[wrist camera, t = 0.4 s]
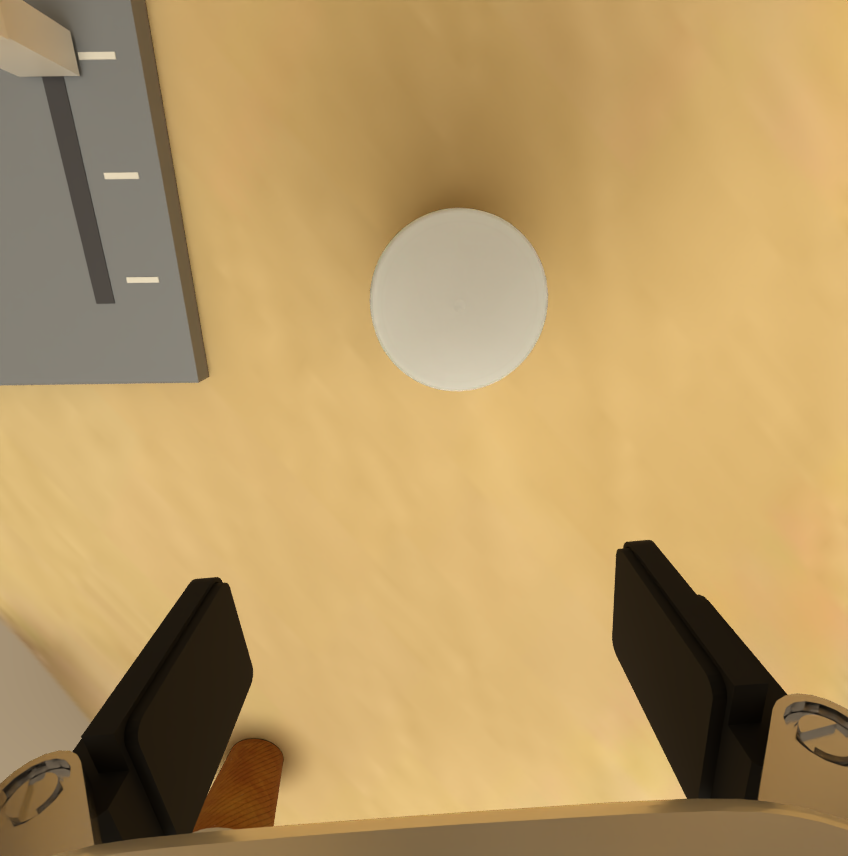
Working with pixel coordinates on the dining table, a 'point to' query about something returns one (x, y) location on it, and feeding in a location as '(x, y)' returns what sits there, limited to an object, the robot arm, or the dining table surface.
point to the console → (93, 215)
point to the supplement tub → (458, 299)
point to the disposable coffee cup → (244, 789)
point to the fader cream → (34, 43)
